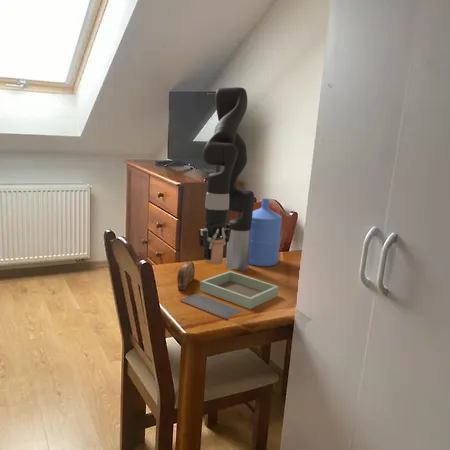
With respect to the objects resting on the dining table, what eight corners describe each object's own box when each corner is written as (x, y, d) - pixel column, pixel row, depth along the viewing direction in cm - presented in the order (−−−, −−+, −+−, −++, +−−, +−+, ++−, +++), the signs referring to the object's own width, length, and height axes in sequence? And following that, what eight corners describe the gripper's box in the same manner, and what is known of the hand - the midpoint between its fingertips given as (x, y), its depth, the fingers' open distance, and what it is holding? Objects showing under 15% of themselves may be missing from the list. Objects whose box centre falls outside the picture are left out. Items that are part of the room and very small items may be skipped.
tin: (183, 294, 169) (184, 271, 167) (175, 293, 170) (176, 270, 168) (194, 280, 184) (196, 259, 182) (187, 279, 184) (188, 258, 182)
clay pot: (212, 257, 160) (213, 234, 158) (227, 262, 156) (228, 238, 154) (200, 261, 155) (201, 237, 153) (214, 266, 152) (216, 241, 150)
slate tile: (196, 296, 169) (196, 293, 168) (241, 313, 157) (242, 310, 156) (180, 302, 162) (180, 299, 162) (226, 320, 150) (226, 317, 150)
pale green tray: (229, 281, 185) (230, 270, 183) (277, 298, 171) (278, 286, 170) (199, 293, 171) (200, 281, 170) (249, 311, 158) (250, 299, 157)
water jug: (268, 269, 202) (274, 204, 196) (236, 261, 210) (240, 198, 203) (283, 261, 215) (289, 199, 209) (252, 253, 223) (257, 194, 216)
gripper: (222, 202, 159) (218, 250, 163) (192, 206, 148) (190, 259, 152) (240, 206, 155) (236, 256, 159) (211, 211, 144) (208, 265, 148)
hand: (213, 257), depth 155 cm, fingers closed on clay pot, 5 cm apart
